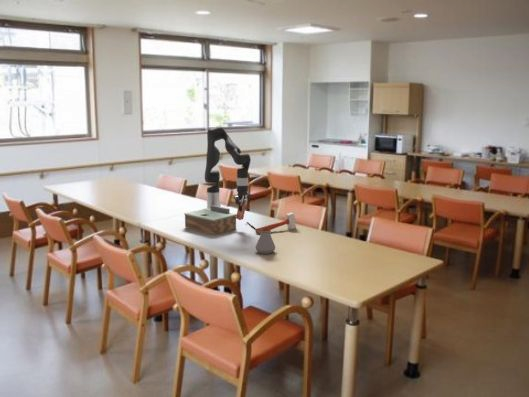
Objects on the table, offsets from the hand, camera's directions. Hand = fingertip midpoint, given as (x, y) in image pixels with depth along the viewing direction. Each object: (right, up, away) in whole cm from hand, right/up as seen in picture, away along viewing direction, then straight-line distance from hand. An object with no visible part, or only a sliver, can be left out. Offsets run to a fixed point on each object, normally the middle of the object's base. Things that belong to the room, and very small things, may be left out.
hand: (242, 210), depth 345 cm
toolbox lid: (-22, -4, +6) cm, 23 cm away
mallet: (+22, -14, +3) cm, 26 cm away
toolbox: (-22, -12, +8) cm, 26 cm away
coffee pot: (+11, -22, -40) cm, 47 cm away
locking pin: (-2, -6, +3) cm, 7 cm away
